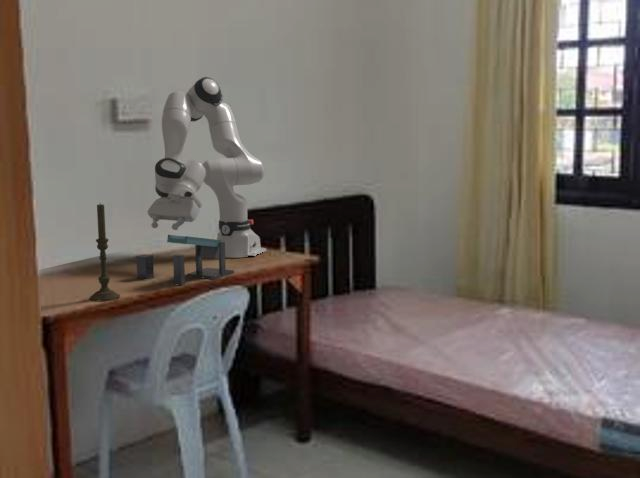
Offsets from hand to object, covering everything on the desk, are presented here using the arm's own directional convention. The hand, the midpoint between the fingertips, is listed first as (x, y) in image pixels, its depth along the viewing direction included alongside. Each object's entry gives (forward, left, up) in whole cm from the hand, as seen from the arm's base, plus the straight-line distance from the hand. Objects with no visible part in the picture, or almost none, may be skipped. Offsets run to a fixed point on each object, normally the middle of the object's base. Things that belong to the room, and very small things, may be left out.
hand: (163, 228), depth 292 cm
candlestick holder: (+41, +9, -16) cm, 45 cm away
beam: (+6, +18, -8) cm, 21 cm away
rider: (+12, +1, -16) cm, 20 cm away
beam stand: (+4, +18, -16) cm, 24 cm away
